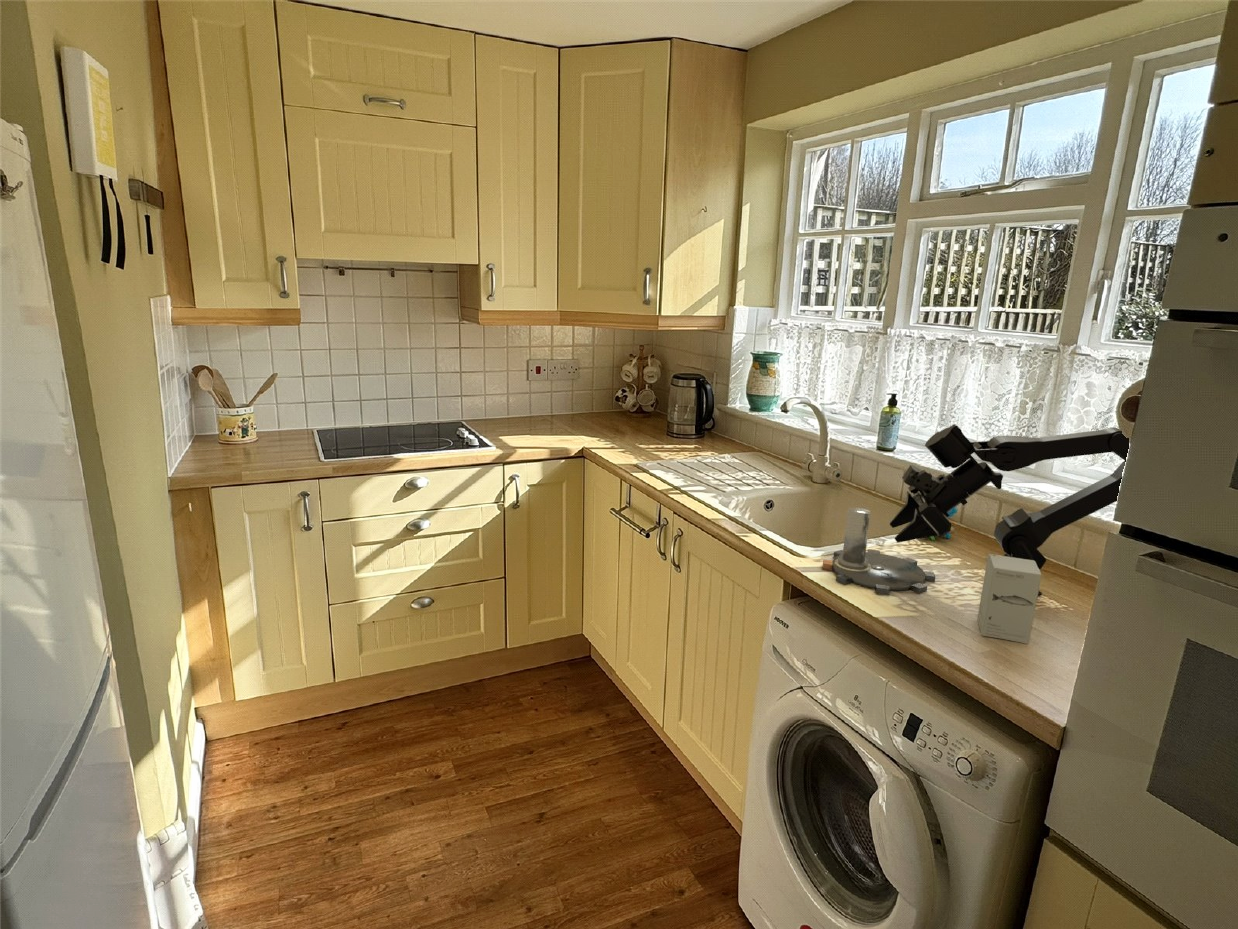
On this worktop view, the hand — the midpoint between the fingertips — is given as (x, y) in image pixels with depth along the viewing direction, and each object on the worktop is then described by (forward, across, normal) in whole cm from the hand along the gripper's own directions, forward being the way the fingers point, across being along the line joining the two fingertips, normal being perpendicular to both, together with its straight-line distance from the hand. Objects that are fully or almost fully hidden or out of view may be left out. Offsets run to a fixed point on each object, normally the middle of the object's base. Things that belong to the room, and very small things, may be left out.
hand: (893, 533), depth 146 cm
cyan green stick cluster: (-3, -30, +16) cm, 34 cm away
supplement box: (-5, +21, +18) cm, 28 cm away
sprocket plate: (+8, 0, +5) cm, 9 cm away
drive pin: (+10, 0, 0) cm, 10 cm away
